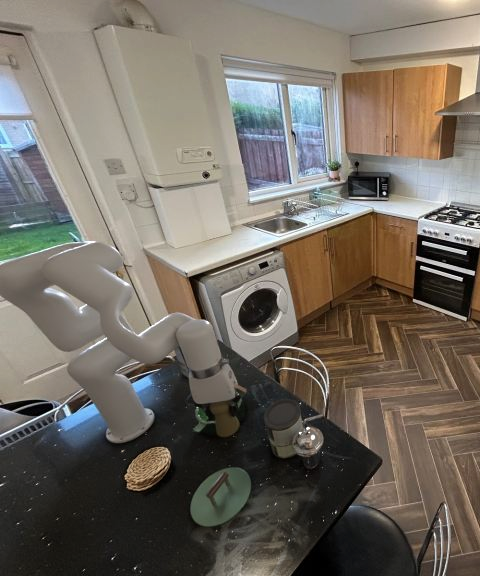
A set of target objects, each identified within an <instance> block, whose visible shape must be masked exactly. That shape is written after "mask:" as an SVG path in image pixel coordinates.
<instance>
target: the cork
mask: <svg viewBox="0 0 480 576" xmlns="http://www.w3.org/2000/svg"><path fill="white" fill-rule="evenodd" d="M229 407H230V404H229V403H228V402H227V401H219V402H212V403H211V404H210V411H211V412H212V413H213V414H214V416H213V417H214V421H215V423H216V430H217V434H218V435H217V436H218V437H221V438H226V437H230V436H233V435H234V434H235V433H236V432H237V431H238V430H239V428H240V425H241V423H239V421H238V419H237V418H236V416H235V417H232V415H231V412H230V409H229Z"/></svg>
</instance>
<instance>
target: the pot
mask: <svg viewBox="0 0 480 576" xmlns="http://www.w3.org/2000/svg"><path fill="white" fill-rule="evenodd" d="M237 393H238V392H236V391H235V395H236V394H237ZM237 404H238V412H236V415H235V416H236V418H237V419H238V421H239V424H241V422H242V421H243V420H244V418H245V416H246V408H245V405H244V404H245V403H244V401H243V397H242V398H241V399H240V400H239V401H238V402H237ZM194 414H195V415H194V416H195V419H196V422H197V423H198V424H196V426H195V427H194V428H193V429H192V431H193V432H194V433H195V434H198V435H201V434H202V433H203V434H205V435H208V436H219V435H218V434H217V430H216V423H215V420H210V421H209V419H208V416H206V414H205V411H202V410H201V408H199V407H197V406H196V408H195V412H194Z"/></svg>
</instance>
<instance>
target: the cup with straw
mask: <svg viewBox="0 0 480 576" xmlns="http://www.w3.org/2000/svg"><path fill="white" fill-rule="evenodd" d="M324 417H325V414H324V413H321V414H317V415H314V416H310V417H307V418H305V419H303V420H302V424H303V428H302V429H301V430H300V431H299V432H298V433H297V434H296V435H295V437H294V439H293V444H292V446H293V449H294V451H295V452H296V453H297V454H296V455H299V458H300V460H301V463H302V464H303V466H304V467H305V468H306V469H313V468H315V467H317V466H318V464H319V462H320V454H321V448H322V446H323V444H324V435H323V433H322V431H321V430H320V429H319V428H317V427H315V426H311V425H308V426H307V422H309V421H313V420H317V419H320V418H324Z"/></svg>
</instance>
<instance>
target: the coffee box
mask: <svg viewBox="0 0 480 576" xmlns="http://www.w3.org/2000/svg"><path fill="white" fill-rule="evenodd" d="M173 352H174V354H175V356H176V359H177V362H178V365H179V367H180V370H181V373H182V375H183V376H185V377H186V378H188V379H189V372H190V371H189V368H188V366H187V363H186V361H185V358H184V355H183V353H182V350H181V348H180V346H179V347H178V348H176V349H175V350H174V351H173Z"/></svg>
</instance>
